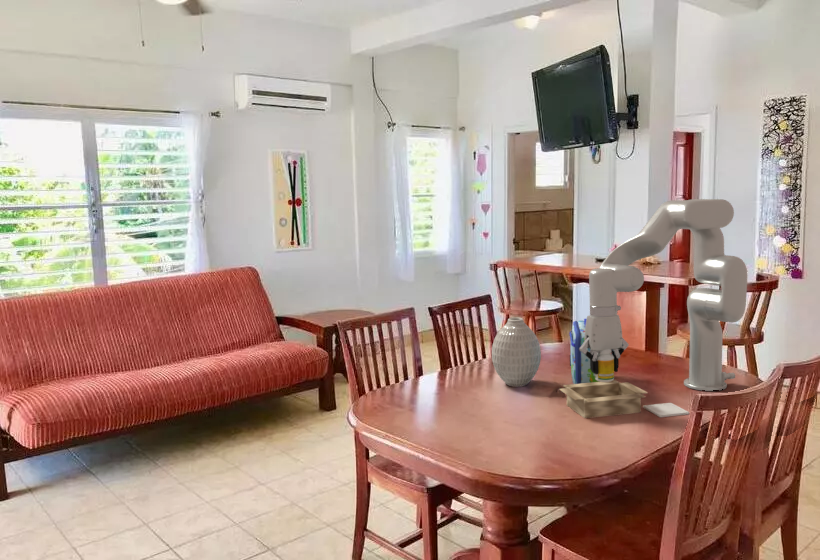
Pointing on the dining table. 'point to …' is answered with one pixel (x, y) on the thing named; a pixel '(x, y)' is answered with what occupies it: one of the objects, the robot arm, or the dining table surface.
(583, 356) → the lunch box
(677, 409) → the coaster
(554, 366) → the dining table surface
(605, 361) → the supplement bottle
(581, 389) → the carton
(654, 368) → the dining table surface
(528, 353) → the vase
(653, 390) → the dining table surface
